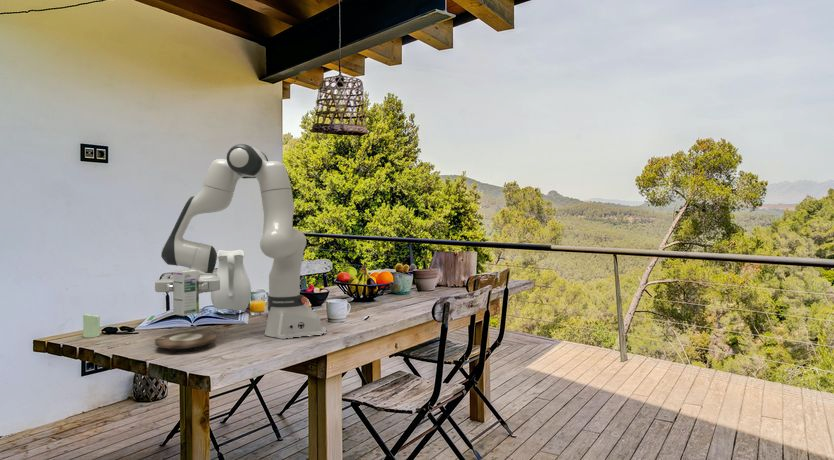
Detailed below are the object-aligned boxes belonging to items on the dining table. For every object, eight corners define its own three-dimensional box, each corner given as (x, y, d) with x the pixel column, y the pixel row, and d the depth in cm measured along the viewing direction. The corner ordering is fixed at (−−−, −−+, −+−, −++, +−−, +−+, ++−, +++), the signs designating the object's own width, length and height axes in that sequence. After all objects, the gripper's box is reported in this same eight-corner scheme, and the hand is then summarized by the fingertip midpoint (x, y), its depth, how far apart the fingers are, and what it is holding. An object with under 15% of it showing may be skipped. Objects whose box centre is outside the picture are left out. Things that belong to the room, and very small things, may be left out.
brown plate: (219, 333, 177) (219, 329, 177) (210, 346, 160) (210, 342, 160) (163, 336, 173) (163, 332, 173) (148, 349, 156) (148, 345, 156)
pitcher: (212, 310, 231) (212, 249, 231) (251, 308, 236) (251, 249, 236) (207, 320, 209) (207, 253, 208) (250, 318, 214) (250, 252, 213)
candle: (95, 333, 184) (95, 311, 184) (102, 335, 181) (102, 313, 181) (80, 336, 180) (80, 313, 180) (87, 338, 177) (87, 315, 177)
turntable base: (205, 342, 172) (205, 337, 172) (199, 350, 163) (199, 345, 163) (173, 344, 170) (173, 339, 170) (165, 352, 160) (165, 346, 160)
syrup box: (183, 316, 162) (183, 271, 162) (172, 314, 165) (172, 269, 165) (199, 313, 167) (199, 269, 167) (188, 311, 170) (188, 268, 170)
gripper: (158, 274, 175) (150, 279, 162) (221, 272, 181) (218, 277, 168) (158, 292, 175) (150, 298, 162) (221, 290, 181) (218, 296, 168)
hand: (185, 288), depth 165 cm, fingers closed on syrup box, 8 cm apart
